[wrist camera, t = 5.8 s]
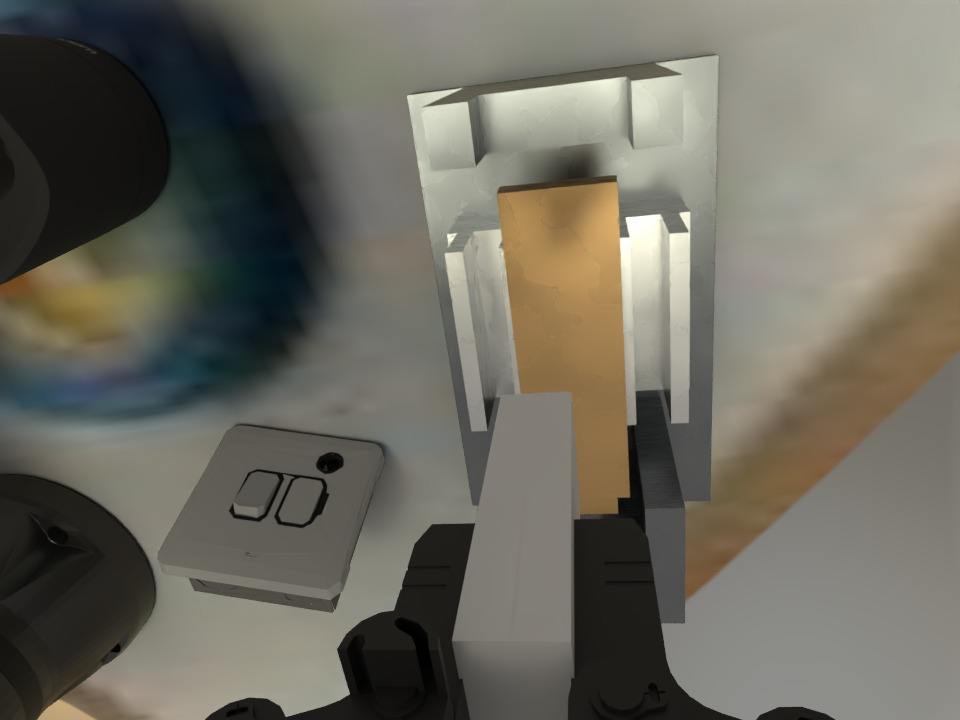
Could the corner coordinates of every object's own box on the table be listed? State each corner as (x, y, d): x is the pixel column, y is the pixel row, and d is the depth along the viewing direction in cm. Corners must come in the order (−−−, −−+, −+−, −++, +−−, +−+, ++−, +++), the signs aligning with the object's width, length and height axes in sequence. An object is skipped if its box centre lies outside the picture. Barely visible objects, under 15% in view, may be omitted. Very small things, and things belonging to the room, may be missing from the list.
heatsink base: (707, 489, 37) (746, 632, 28) (475, 494, 40) (444, 629, 31) (714, 54, 28) (776, 63, 19) (412, 93, 30) (342, 118, 21)
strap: (629, 519, 30) (631, 541, 29) (539, 520, 31) (537, 542, 29) (615, 173, 23) (617, 183, 22) (500, 185, 24) (495, 195, 23)
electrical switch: (388, 441, 39) (336, 566, 31) (389, 507, 42) (341, 637, 34) (232, 419, 40) (143, 536, 32) (243, 485, 42) (163, 608, 35)
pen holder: (217, 150, 33) (81, 193, 24) (109, 264, 36) (-45, 339, 27) (63, -19, 30) (-153, -41, 21) (-37, 121, 34) (-258, 152, 25)
